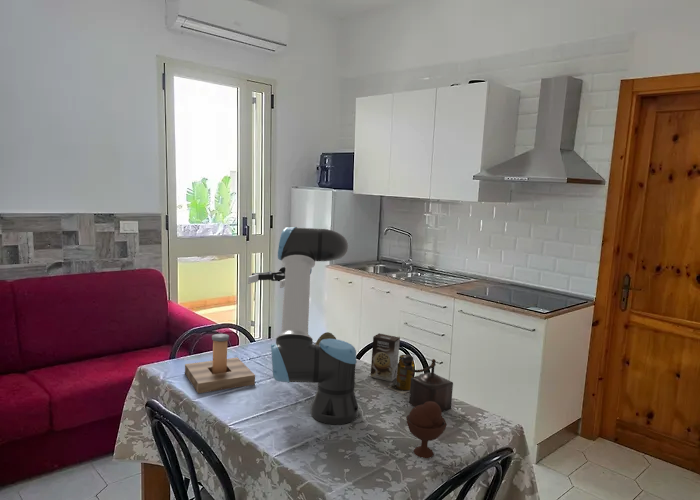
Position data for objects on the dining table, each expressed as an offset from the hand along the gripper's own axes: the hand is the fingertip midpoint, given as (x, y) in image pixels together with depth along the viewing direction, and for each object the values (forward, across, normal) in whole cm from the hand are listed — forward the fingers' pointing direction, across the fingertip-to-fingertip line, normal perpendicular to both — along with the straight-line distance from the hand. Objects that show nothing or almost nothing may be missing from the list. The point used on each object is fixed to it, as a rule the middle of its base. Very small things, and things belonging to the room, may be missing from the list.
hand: (264, 282), depth 183 cm
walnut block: (+13, +10, -35) cm, 39 cm away
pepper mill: (+3, -64, -35) cm, 73 cm away
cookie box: (-17, -44, -35) cm, 59 cm away
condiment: (-9, -53, -35) cm, 65 cm away
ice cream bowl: (+32, -69, -35) cm, 84 cm away
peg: (+13, +10, -35) cm, 39 cm away
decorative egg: (-14, -21, -35) cm, 43 cm away
